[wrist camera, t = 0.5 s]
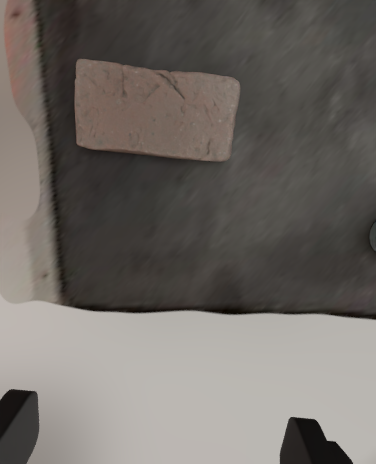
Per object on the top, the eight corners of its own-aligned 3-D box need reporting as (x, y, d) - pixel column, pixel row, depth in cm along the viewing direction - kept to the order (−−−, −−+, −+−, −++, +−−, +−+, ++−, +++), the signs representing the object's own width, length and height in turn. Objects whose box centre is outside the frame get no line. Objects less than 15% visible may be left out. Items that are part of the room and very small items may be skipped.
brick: (237, 85, 32) (245, 74, 27) (227, 163, 34) (232, 164, 29) (89, 70, 31) (71, 56, 27) (88, 148, 34) (71, 148, 29)
